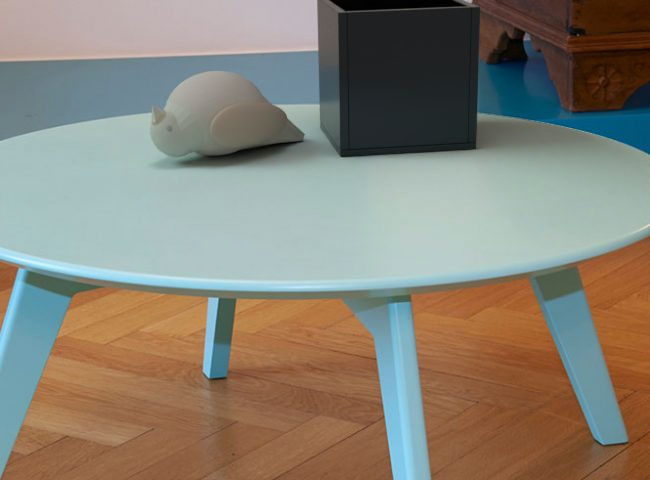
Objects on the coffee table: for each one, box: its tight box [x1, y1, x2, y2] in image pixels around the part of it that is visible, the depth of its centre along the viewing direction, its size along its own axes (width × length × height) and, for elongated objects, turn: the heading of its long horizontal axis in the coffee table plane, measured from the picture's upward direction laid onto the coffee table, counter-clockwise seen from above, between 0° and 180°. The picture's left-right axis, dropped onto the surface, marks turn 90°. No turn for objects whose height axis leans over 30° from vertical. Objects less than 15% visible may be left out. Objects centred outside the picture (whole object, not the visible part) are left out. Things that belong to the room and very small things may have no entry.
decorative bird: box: [149, 70, 306, 158], centre depth 103 cm, size 9×16×8 cm, turn 134°
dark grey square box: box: [316, 0, 481, 158], centre depth 106 cm, size 13×13×13 cm
